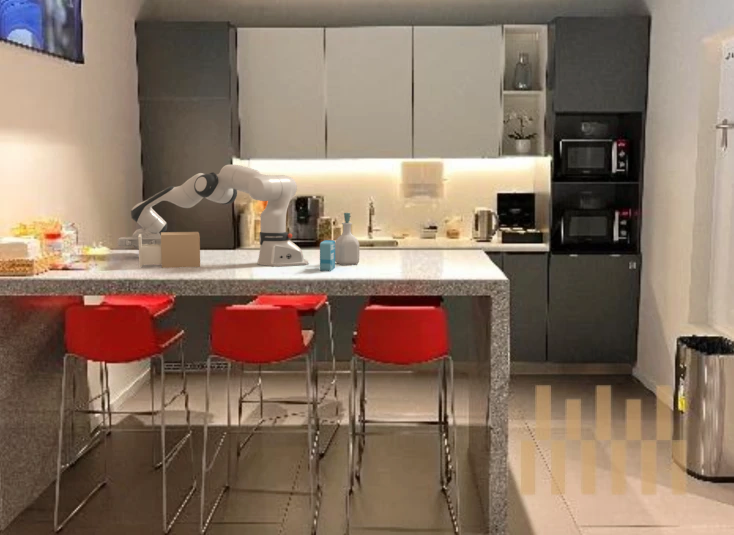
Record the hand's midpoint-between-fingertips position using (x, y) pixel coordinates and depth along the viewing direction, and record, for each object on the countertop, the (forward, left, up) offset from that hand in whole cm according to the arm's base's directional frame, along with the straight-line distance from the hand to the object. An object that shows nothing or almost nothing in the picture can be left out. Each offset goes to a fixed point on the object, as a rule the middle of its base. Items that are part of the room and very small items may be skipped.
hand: (140, 243), depth 368 cm
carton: (-17, +21, -8) cm, 28 cm away
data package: (-77, +45, -8) cm, 89 cm away
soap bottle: (-89, +29, -8) cm, 94 cm away
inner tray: (-8, +18, -7) cm, 21 cm away
